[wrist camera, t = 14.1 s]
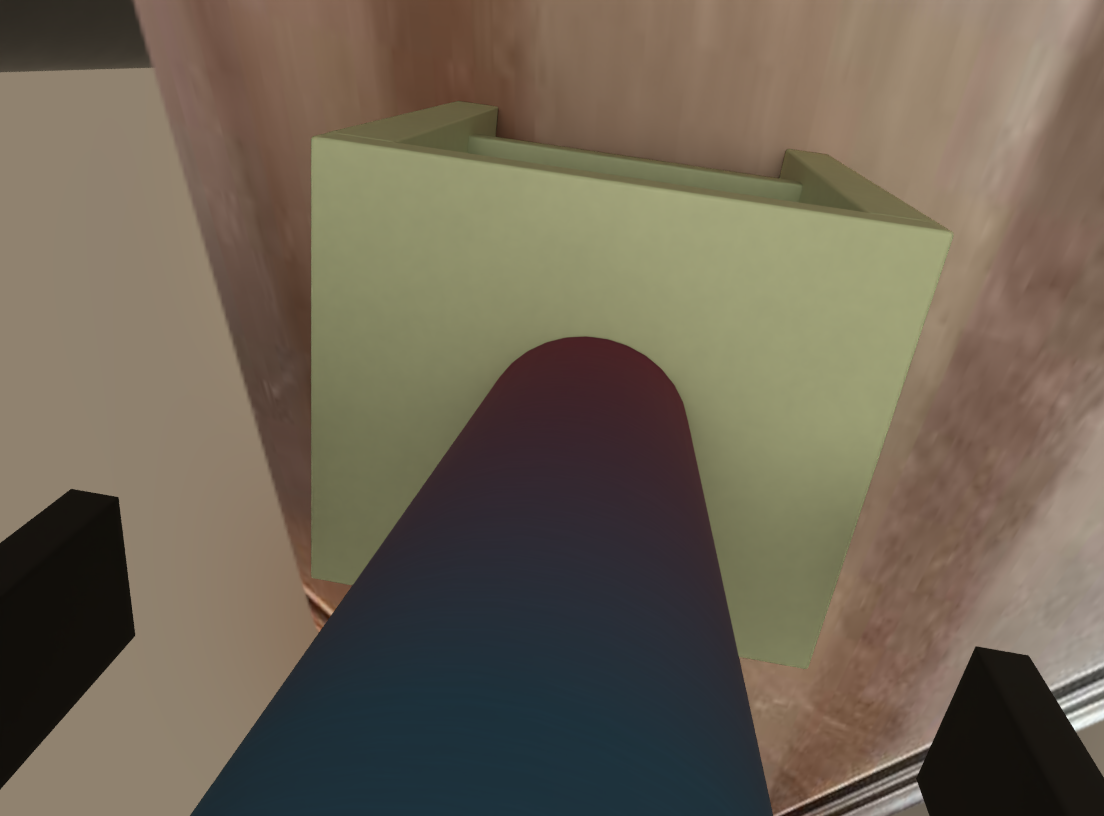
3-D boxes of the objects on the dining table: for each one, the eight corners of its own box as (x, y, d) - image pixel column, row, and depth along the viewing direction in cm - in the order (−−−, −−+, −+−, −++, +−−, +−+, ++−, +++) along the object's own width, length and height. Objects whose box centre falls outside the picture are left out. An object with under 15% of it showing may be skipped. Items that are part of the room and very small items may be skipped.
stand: (436, 389, 35) (309, 578, 23) (457, 100, 30) (309, 135, 18) (754, 443, 34) (808, 671, 22) (829, 154, 29) (956, 232, 17)
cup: (671, 254, 18) (695, 932, 4) (762, 509, 20) (977, 1493, 6) (403, 354, 19) (-200, 1056, 6) (515, 577, 22) (265, 1459, 8)
